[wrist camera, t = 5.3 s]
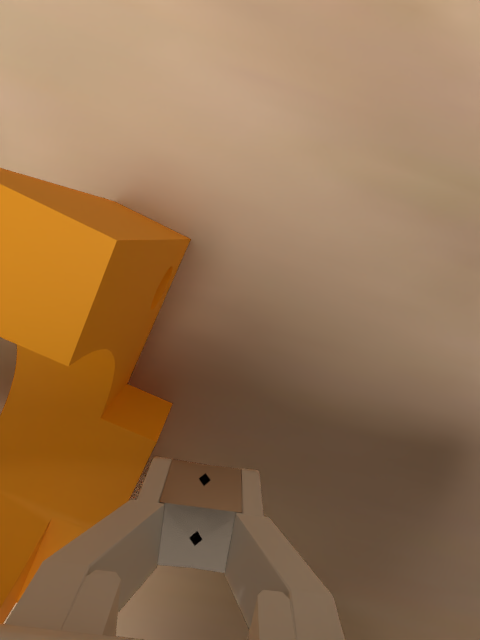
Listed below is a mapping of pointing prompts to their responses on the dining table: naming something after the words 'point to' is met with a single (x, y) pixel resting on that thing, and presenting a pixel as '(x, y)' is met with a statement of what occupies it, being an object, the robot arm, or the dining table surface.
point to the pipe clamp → (73, 364)
